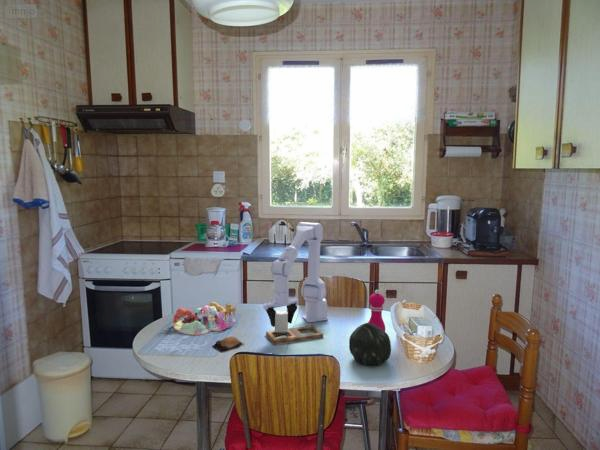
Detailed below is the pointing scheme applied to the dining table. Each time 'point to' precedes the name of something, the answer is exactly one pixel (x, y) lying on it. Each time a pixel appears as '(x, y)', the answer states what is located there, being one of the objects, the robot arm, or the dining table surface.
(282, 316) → the light grey block
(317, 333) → the wooden board with holes
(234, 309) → the candy landscape model
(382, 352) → the squash
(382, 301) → the pepper mill
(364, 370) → the dining table surface
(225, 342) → the bread roll
